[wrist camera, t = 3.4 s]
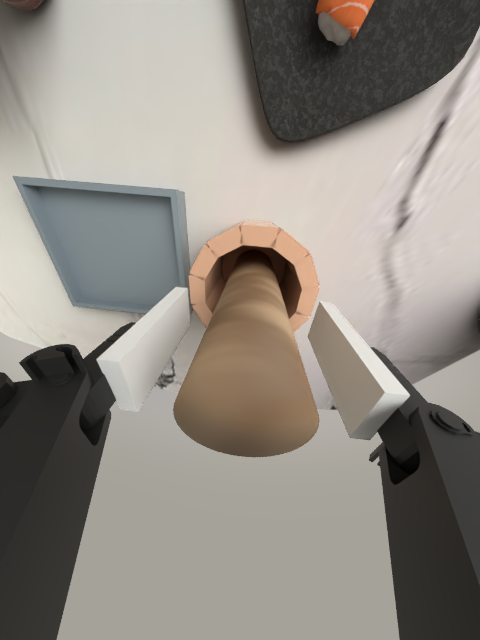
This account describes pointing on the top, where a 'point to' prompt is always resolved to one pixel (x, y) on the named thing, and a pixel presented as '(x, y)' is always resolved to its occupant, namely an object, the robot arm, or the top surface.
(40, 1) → the mug
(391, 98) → the sushi plate
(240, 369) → the peg
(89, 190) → the tray
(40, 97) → the top surface
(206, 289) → the cup
